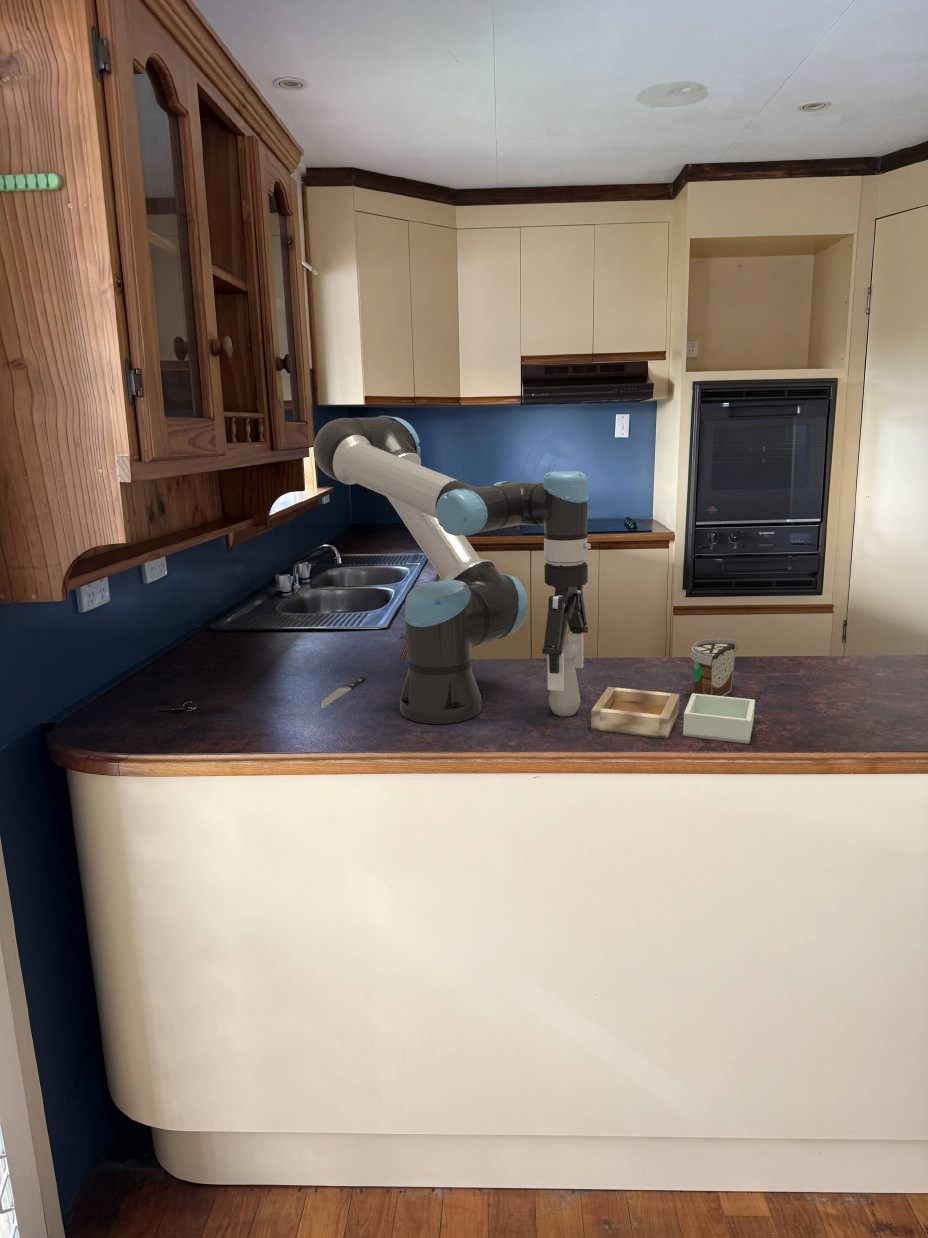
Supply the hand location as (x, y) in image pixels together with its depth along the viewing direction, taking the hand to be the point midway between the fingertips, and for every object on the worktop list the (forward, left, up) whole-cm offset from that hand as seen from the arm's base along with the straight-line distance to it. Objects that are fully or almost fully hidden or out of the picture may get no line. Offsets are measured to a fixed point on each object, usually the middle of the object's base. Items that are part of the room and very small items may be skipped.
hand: (566, 678), depth 150 cm
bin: (+27, +1, -7) cm, 28 cm away
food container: (+23, +18, -7) cm, 30 cm away
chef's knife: (-45, -4, -7) cm, 46 cm away
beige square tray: (+13, 0, -7) cm, 14 cm away
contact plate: (+13, 0, -7) cm, 14 cm away
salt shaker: (0, 0, -7) cm, 7 cm away
